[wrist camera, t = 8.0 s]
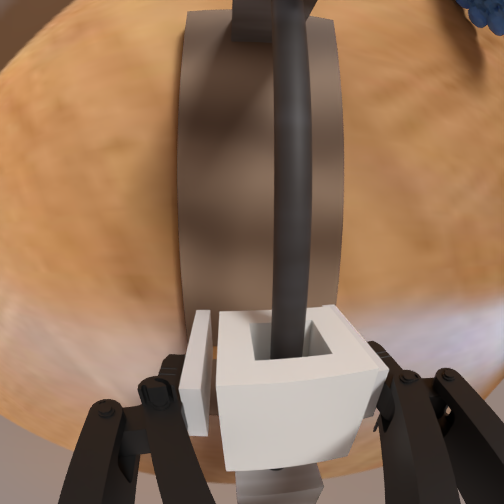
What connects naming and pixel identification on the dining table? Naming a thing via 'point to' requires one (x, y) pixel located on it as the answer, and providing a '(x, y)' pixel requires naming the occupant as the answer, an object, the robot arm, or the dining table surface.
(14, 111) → the dining table surface
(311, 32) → the sliding block rail
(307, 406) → the sleeve
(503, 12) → the blue knobbed wheel
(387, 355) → the robot arm
